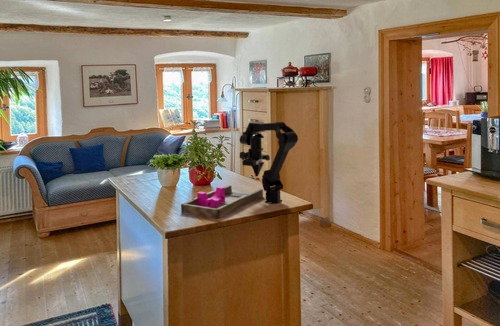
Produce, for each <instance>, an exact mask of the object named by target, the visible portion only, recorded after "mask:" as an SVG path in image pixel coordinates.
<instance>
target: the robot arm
mask: <svg viewBox="0 0 500 326" xmlns="http://www.w3.org/2000/svg"><path fill="white" fill-rule="evenodd" d="M265 131H275V137H276V138H277V142H278V143H277V144H278V149H277V152H276V153H275V154H276V155H275V156H274V159H273V161H272V163H271V166H270V168H269V169H265V170H264V171H263V173H262V176H261V177H262V178H261V185H262V189H263V191H264V192H265V200H264V202H265V203H267V204H273V205H275V204H276V205H277V204H279V203H281V202H282V201H283V200H282V199H281V190H283V189H284V184H283V183H282V181H281V175H280V172H281V170H282V167H283V165H284V163H285V161H286V158H287V156H288V154H289V152H290V150H292V149H293V148H295V146H296V144H297V143H298V140H299V137H298V135H297V133H296V132H295V131H294V129H293V128H291V127H290V126H288V125H287V124H286V122H284V121H275V122H269V123H268V122H266V123H265V122H264V121H251V122H249V123H248V125H247V126H246V129H245V131H243V132H242V134H241V135H240V136H239V143H240V144H241V145H245V146H250V148H248V151H247V152H245V151H240V152H239V158H240V159H241V160H242V161H241V162H242V164H241V165H242V166H248V167H251V168H252V170H253V174H254V177H259V175H260V173H261V170H262V169H263V168H262V167H263V166H264V164H265V162H264V161H263V160H265V161H270V160H271V156H270V155H269V154H267V153H266V154H265V153H262V152H263V151H264V148H263V147H262V139H264V138H265V137H264V135H263V132H265ZM281 131H282V132H281Z"/></svg>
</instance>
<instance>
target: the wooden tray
mask: <svg viewBox="0 0 500 326" xmlns="http://www.w3.org/2000/svg"><path fill="white" fill-rule="evenodd" d="M223 187H224V188H225V197H226V196H228V197H235V198H236V199H233V200H231V201H229V202H226V203H225V205H222V206H220V207H218V208H215V207H212V208H209V207H203V206H198V203H197V196H196V197H194V198H192V199H191V200H188V201H185V202H183V203H181V204H180V209H181V210H180V211H181V213H182V214H189V215H195V216H199V217H200V216H201V217H207V218H211V219H218V220H219V219H220V218H222V217H224V216H226V215H229V214H230V213H232V212H235V211H237V210H239V209H241V208H242V207H245V206H246V205H247V206H248V205H249V204H251V203H253V202H255V201H257V200H259V199H261V198H263V197H264V192H263V191H264V189H263V188H259V189H257V190H255V191H253V192H251V193H242V192H233V191H232V189H233V187H232V185H230V184H229V185H226V186H223ZM215 192H216V190H212V191H209V192H206V194H207V196H208V198H211V197H212V196H213V195H214V194H215Z"/></svg>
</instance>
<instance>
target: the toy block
mask: <svg viewBox="0 0 500 326" xmlns="http://www.w3.org/2000/svg"><path fill="white" fill-rule="evenodd" d="M224 187H225V186H216V187H215V188H216V189H215V191H216V192H215V194H214V195H213V196H212V197H211V198H208V196H207V194H206V193H207V192H204V191H198V192H196V197H197V203H198V206H203V207H209V208H215V207H218V206H221V205H222V206H223V203H224V202H226V195H225V188H224Z"/></svg>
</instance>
